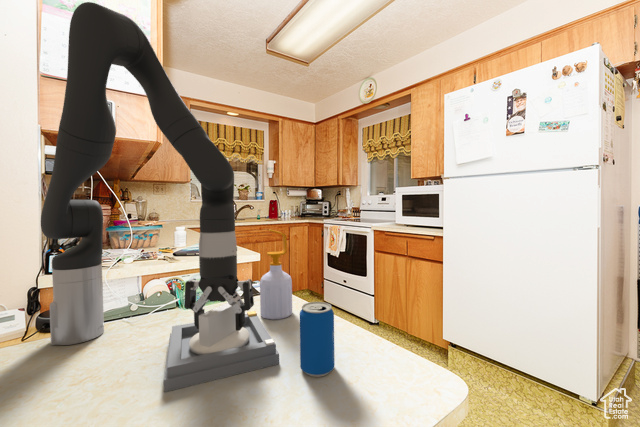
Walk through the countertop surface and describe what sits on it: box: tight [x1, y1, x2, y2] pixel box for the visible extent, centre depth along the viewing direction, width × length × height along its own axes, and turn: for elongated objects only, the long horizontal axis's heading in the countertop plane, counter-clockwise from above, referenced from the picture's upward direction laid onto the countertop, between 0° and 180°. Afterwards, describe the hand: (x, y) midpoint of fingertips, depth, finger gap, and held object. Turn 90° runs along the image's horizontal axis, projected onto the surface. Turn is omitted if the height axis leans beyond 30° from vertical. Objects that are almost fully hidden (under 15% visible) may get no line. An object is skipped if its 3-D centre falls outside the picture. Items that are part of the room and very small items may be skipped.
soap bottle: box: [259, 228, 293, 320], centre depth 83 cm, size 9×9×25 cm
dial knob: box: [189, 302, 249, 355], centre depth 62 cm, size 12×12×7 cm
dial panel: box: [163, 310, 280, 393], centre depth 62 cm, size 20×20×4 cm
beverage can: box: [299, 301, 335, 378], centre depth 55 cm, size 6×6×12 cm
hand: (219, 328), depth 62 cm, fingers open, 8 cm apart
